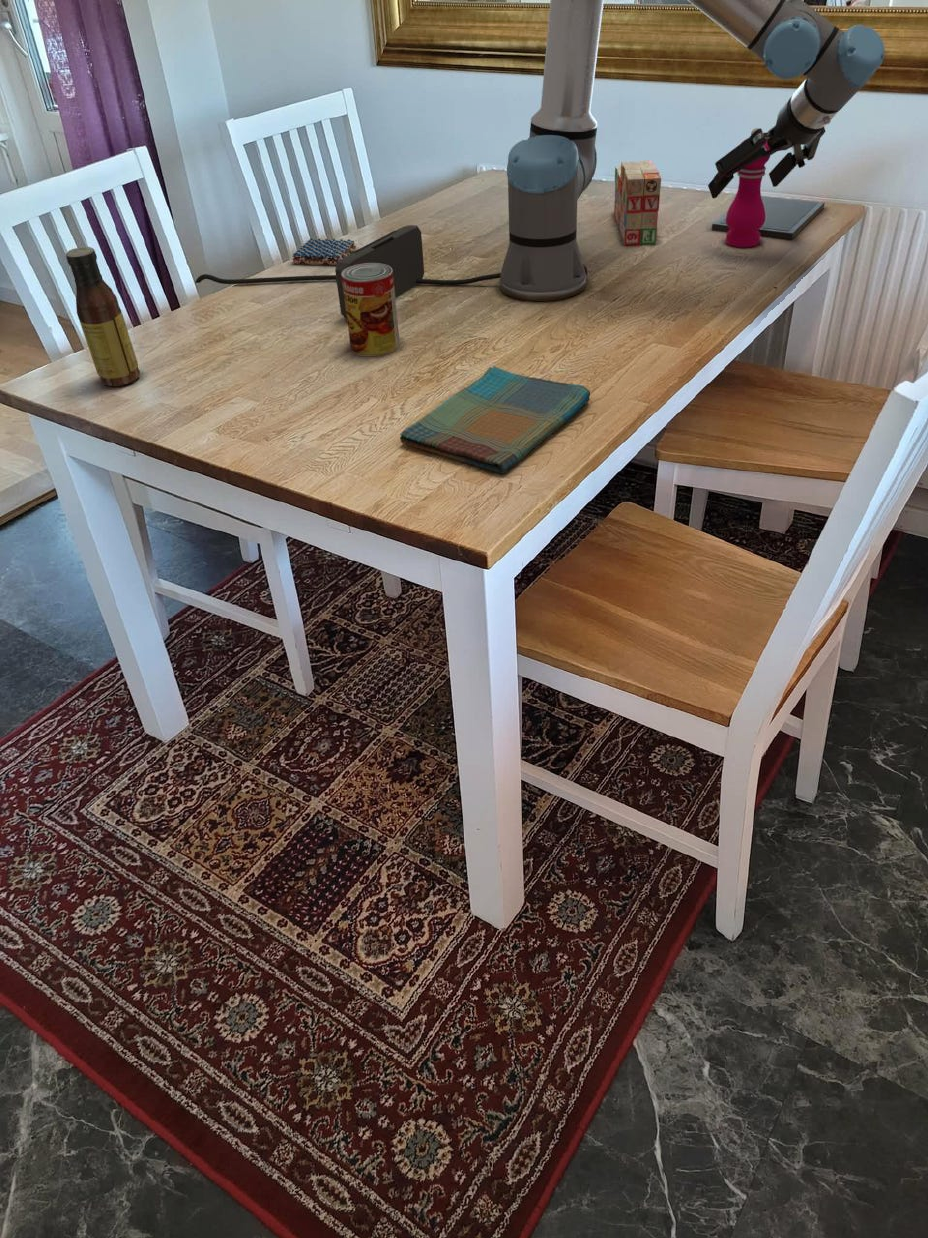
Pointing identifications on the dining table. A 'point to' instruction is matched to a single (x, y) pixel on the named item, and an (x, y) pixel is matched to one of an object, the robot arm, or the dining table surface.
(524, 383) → the dish towel
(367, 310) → the canned food
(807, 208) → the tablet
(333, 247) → the woven mat
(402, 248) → the handheld gaming console
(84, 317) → the sauce bottle
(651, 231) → the stack of blocks
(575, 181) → the robot arm
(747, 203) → the pepper mill
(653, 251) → the dining table surface
